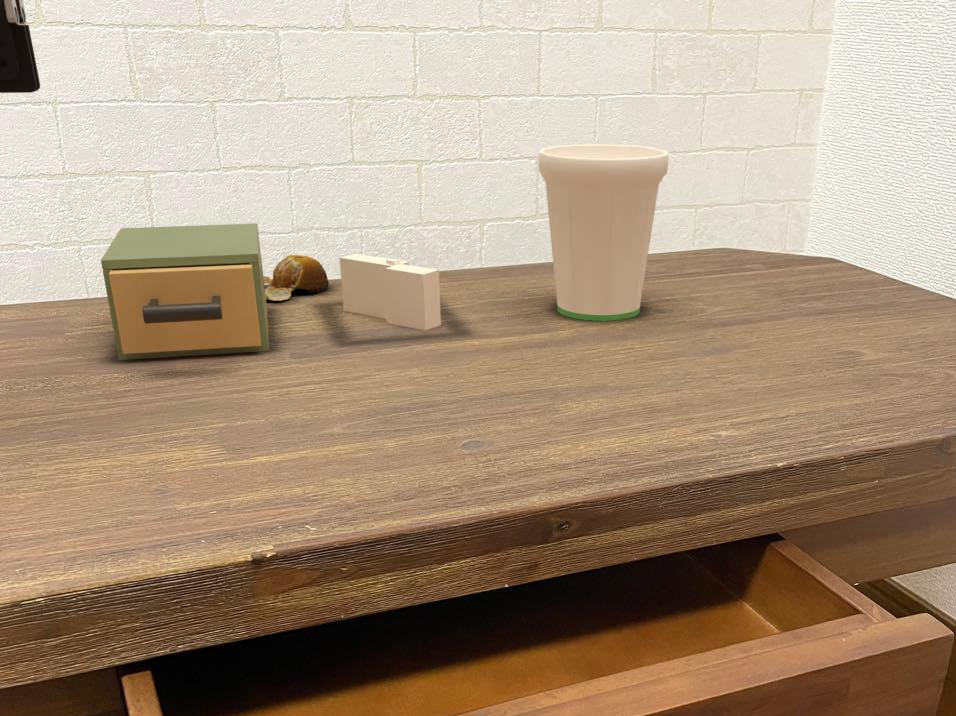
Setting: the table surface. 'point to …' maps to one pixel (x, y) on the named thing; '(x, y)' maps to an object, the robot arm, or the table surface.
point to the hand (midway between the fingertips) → (13, 91)
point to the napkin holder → (391, 291)
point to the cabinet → (187, 250)
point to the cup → (601, 225)
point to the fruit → (295, 277)
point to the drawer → (185, 307)
